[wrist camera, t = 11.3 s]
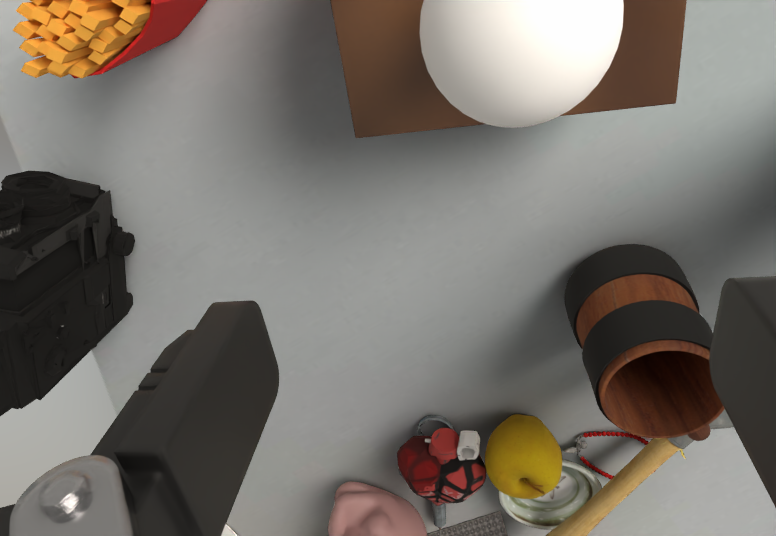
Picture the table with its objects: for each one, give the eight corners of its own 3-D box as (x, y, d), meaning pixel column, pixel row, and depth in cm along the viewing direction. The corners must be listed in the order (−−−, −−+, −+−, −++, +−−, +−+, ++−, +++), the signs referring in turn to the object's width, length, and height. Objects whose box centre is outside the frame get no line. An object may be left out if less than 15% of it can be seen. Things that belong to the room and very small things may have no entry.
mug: (616, 374, 48) (654, 492, 38) (541, 274, 44) (562, 378, 34) (719, 329, 45) (790, 447, 35) (648, 217, 41) (706, 314, 31)
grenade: (485, 524, 52) (488, 460, 46) (398, 517, 53) (390, 454, 47) (484, 474, 56) (487, 409, 50) (403, 469, 57) (396, 405, 51)
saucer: (505, 435, 54) (507, 455, 52) (609, 449, 53) (615, 470, 51) (490, 502, 59) (491, 523, 57) (586, 516, 58) (590, 537, 56)
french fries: (162, 58, 39) (54, 108, 29) (114, 11, 38) (-16, 47, 28) (238, -36, 35) (145, -16, 25) (188, -92, 34) (69, -94, 24)
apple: (570, 418, 52) (586, 494, 45) (524, 455, 55) (532, 531, 48) (514, 385, 50) (520, 458, 44) (470, 425, 54) (470, 499, 47)
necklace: (554, 453, 54) (555, 462, 54) (588, 413, 51) (590, 421, 50) (635, 486, 55) (637, 495, 54) (674, 448, 52) (677, 457, 51)
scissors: (476, 549, 60) (477, 535, 62) (476, 426, 51) (477, 412, 53) (404, 542, 62) (406, 528, 63) (392, 421, 53) (394, 408, 54)
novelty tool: (827, 382, 44) (572, 605, 54) (799, 357, 47) (563, 573, 57) (750, 330, 42) (502, 571, 52) (725, 308, 45) (496, 540, 55)
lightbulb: (585, 51, 25) (651, 131, 16) (449, 83, 27) (437, 173, 17) (571, -109, 22) (643, -124, 13) (419, -63, 24) (386, -48, 14)
